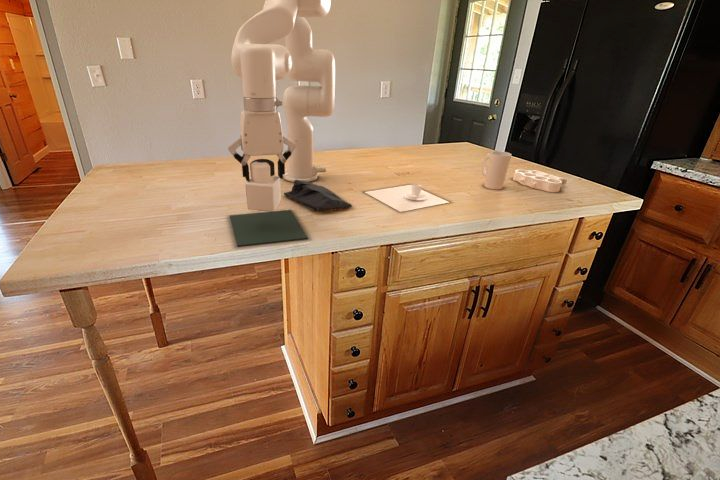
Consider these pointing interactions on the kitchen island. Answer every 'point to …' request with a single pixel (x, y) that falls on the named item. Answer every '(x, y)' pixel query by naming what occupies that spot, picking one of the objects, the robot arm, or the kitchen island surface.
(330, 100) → the robot arm
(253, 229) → the mat
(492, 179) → the mug
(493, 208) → the kitchen island surface
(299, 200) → the black fabric pouch
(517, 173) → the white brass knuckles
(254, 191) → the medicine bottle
